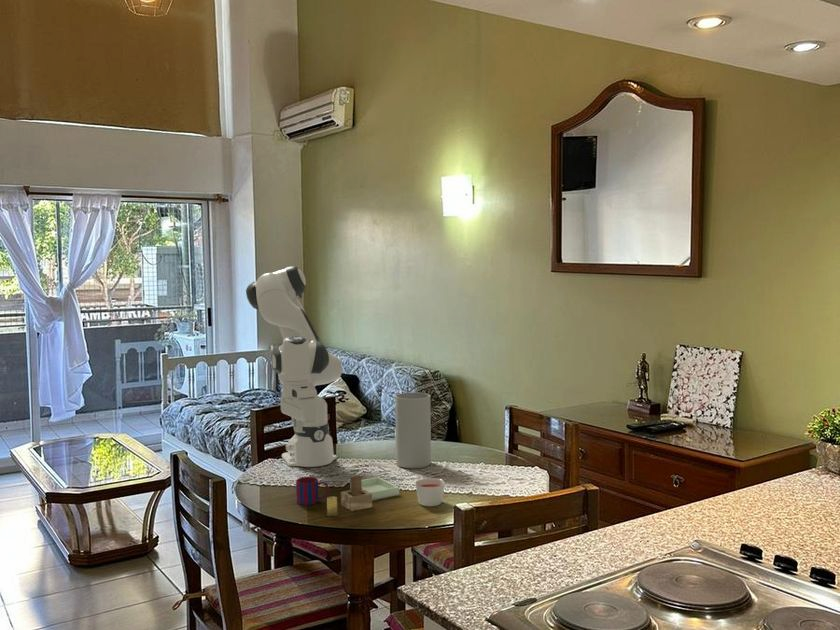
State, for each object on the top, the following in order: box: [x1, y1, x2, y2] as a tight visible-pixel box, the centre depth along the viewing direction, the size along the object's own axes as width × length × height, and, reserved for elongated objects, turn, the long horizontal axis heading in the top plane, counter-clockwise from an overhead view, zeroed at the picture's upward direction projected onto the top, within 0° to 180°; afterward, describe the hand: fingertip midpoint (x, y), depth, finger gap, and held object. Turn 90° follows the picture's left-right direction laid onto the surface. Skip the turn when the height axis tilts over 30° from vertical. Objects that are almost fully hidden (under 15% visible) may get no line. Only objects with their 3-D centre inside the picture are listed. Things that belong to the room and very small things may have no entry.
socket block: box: [340, 489, 373, 512], centre depth 232 cm, size 7×7×4 cm
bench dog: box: [326, 496, 338, 517], centre depth 225 cm, size 3×3×5 cm
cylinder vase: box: [394, 391, 432, 470], centre depth 276 cm, size 12×12×25 cm
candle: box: [414, 477, 446, 507], centre depth 234 cm, size 9×9×6 cm
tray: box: [349, 476, 400, 501], centre depth 245 cm, size 13×10×2 cm
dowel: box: [350, 474, 362, 496], centre depth 232 cm, size 3×3×9 cm
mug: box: [295, 476, 329, 506], centre depth 236 cm, size 7×10×7 cm
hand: (298, 431), depth 243 cm, fingers closed
